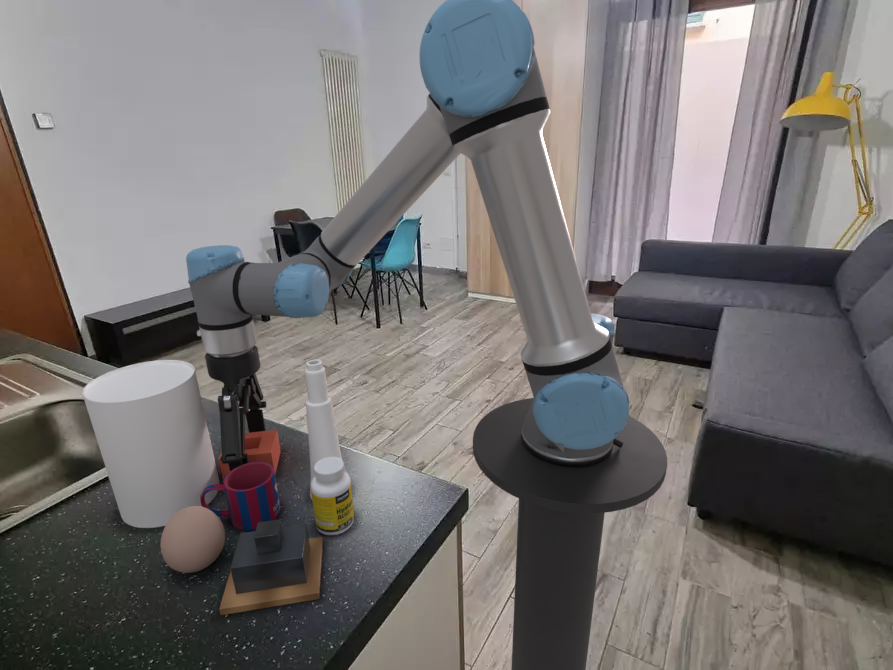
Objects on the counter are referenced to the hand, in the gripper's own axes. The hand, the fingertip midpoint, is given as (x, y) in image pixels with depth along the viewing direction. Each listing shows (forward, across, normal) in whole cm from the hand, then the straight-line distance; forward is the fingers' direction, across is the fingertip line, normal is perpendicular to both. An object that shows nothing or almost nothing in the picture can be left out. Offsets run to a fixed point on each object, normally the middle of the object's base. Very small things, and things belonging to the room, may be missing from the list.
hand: (252, 465), depth 82 cm
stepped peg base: (0, +25, +7) cm, 26 cm away
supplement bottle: (0, +17, +14) cm, 22 cm away
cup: (0, +13, +1) cm, 13 cm away
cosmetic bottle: (0, +10, +13) cm, 16 cm away
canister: (0, +6, -11) cm, 12 cm away
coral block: (0, 0, 0) cm, 0 cm away
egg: (0, +21, -3) cm, 21 cm away
